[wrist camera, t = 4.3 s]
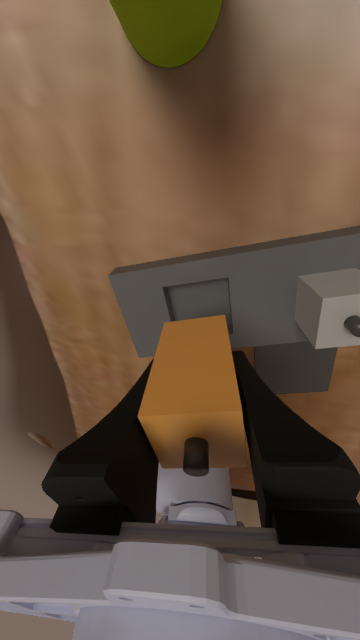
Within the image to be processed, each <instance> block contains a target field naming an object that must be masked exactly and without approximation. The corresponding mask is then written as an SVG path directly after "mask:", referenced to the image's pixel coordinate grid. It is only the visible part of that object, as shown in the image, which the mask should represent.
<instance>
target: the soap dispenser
mask: <svg viewBox="0 0 360 640" xmlns="http://www.w3.org/2000/svg"><path fill="white" fill-rule="evenodd" d="M109 1H110V3H111V5H112V7H113V9H114V11H115V13H116V15H117V17H118V19H119V21H120V23H121V25H122V27H123V29H124V31H125V33H126V35H127V37H128V39H129V41H130V42H131V44H132V45H133V47H134V48H135V49H136V51H137V52H138V53H139V54H140V55H141V56H142V57H143V58H144V59H146V60H147V61H149V62H150V63H152V64H154V65H157V66H160V67H166V68H171V67H177V66H180V65H183V64H185V63H187V62H188V61H190V60H191V59H192V58H194V57H195V56H196V55H197V54H198V53H199V52H200V51H201V49H202V48H203V47H204V46H205V44H206V43H207V41H208V39H209V38H210V36H211V34H212V32H213V30H214V27H215V25H216V22H217V20H218V17H219V13H220V9H221V5H222V0H109Z"/></svg>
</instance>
